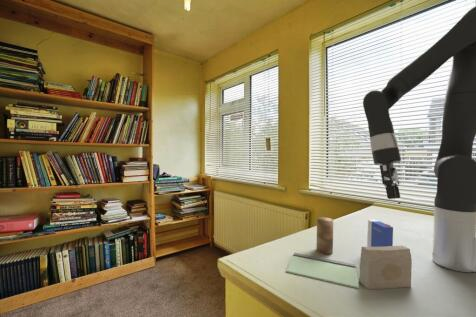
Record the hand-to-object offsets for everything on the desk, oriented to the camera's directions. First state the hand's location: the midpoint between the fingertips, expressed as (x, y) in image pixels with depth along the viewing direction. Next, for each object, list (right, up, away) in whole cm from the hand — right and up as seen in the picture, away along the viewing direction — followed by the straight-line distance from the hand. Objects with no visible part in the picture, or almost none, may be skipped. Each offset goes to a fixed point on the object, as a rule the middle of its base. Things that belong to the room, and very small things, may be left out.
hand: (394, 198), depth 71 cm
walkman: (-5, -20, -1) cm, 20 cm away
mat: (-26, -19, -8) cm, 33 cm away
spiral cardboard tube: (-20, -19, +5) cm, 28 cm away
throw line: (-23, -19, -1) cm, 30 cm away
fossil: (-12, -20, -14) cm, 27 cm away
